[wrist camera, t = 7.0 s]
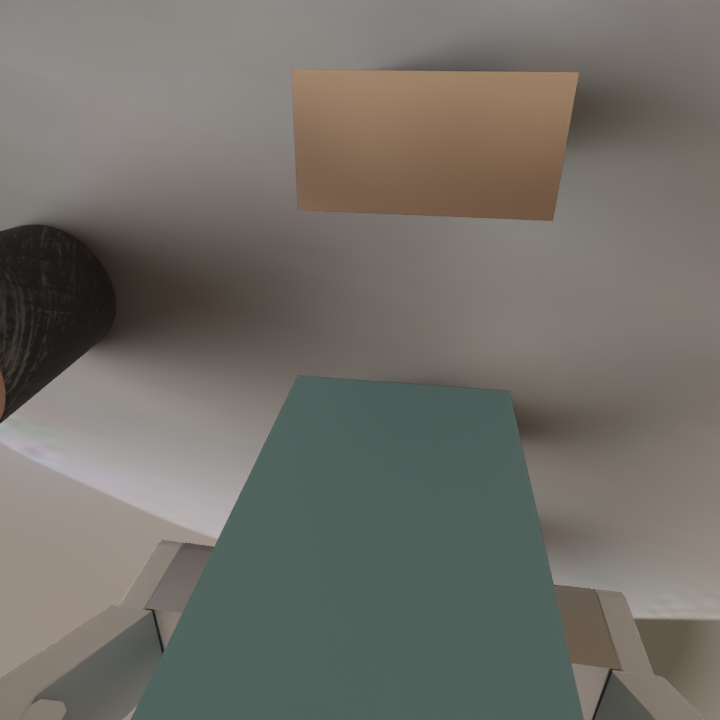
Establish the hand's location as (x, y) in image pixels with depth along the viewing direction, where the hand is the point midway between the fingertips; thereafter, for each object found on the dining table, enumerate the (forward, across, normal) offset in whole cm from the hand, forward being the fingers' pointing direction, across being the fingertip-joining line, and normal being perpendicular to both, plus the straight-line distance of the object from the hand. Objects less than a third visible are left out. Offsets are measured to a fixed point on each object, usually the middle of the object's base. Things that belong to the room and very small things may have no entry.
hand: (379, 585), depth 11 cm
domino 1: (+17, 0, -8) cm, 19 cm away
